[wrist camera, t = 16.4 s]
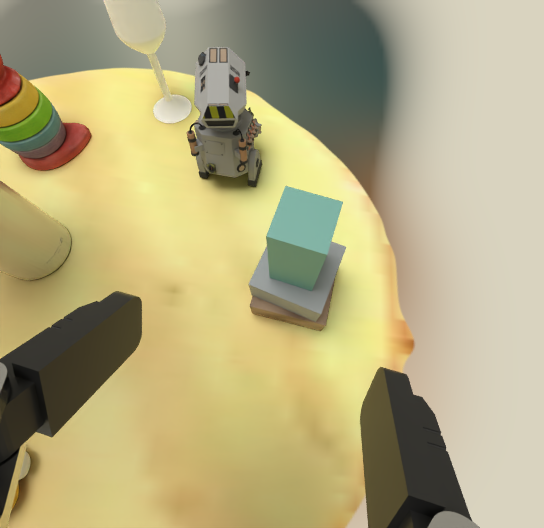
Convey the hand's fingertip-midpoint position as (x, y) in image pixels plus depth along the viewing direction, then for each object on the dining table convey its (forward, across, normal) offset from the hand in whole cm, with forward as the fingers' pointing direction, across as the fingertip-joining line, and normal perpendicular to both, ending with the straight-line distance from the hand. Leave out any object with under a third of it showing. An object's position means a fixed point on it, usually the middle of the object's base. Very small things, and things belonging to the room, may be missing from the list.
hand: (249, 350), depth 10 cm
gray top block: (+25, 0, +9) cm, 26 cm away
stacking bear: (+37, +44, +3) cm, 57 cm away
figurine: (+40, +14, 0) cm, 43 cm away
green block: (+21, 0, +6) cm, 22 cm away
